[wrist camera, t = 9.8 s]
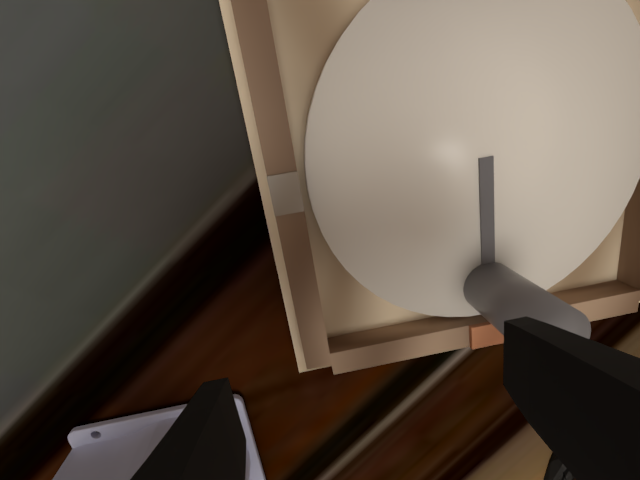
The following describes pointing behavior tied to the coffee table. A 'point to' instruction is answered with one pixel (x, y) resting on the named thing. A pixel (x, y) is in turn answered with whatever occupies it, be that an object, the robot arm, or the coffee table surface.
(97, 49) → the coffee table surface
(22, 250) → the coffee table surface
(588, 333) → the dial
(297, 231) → the dial housing
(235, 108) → the coffee table surface
